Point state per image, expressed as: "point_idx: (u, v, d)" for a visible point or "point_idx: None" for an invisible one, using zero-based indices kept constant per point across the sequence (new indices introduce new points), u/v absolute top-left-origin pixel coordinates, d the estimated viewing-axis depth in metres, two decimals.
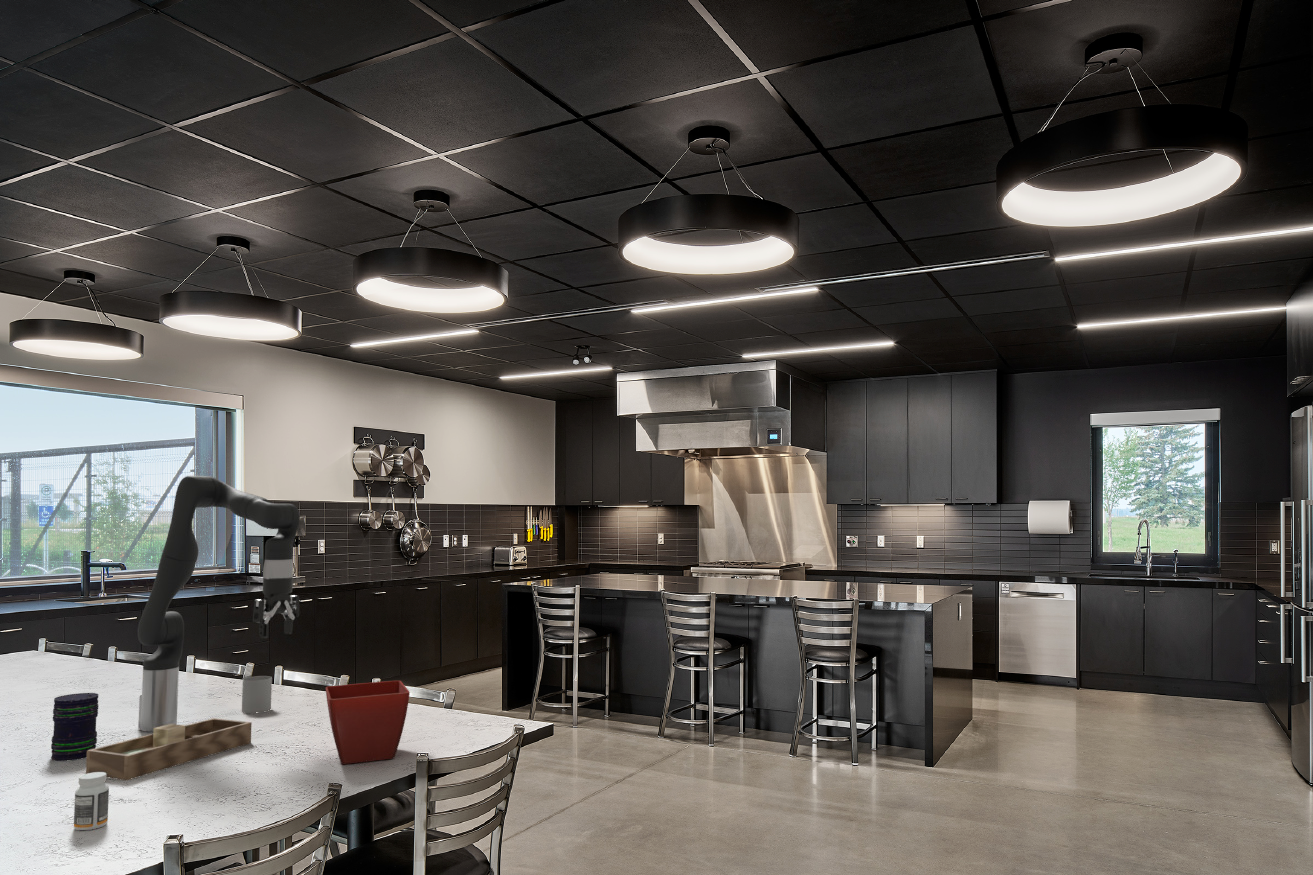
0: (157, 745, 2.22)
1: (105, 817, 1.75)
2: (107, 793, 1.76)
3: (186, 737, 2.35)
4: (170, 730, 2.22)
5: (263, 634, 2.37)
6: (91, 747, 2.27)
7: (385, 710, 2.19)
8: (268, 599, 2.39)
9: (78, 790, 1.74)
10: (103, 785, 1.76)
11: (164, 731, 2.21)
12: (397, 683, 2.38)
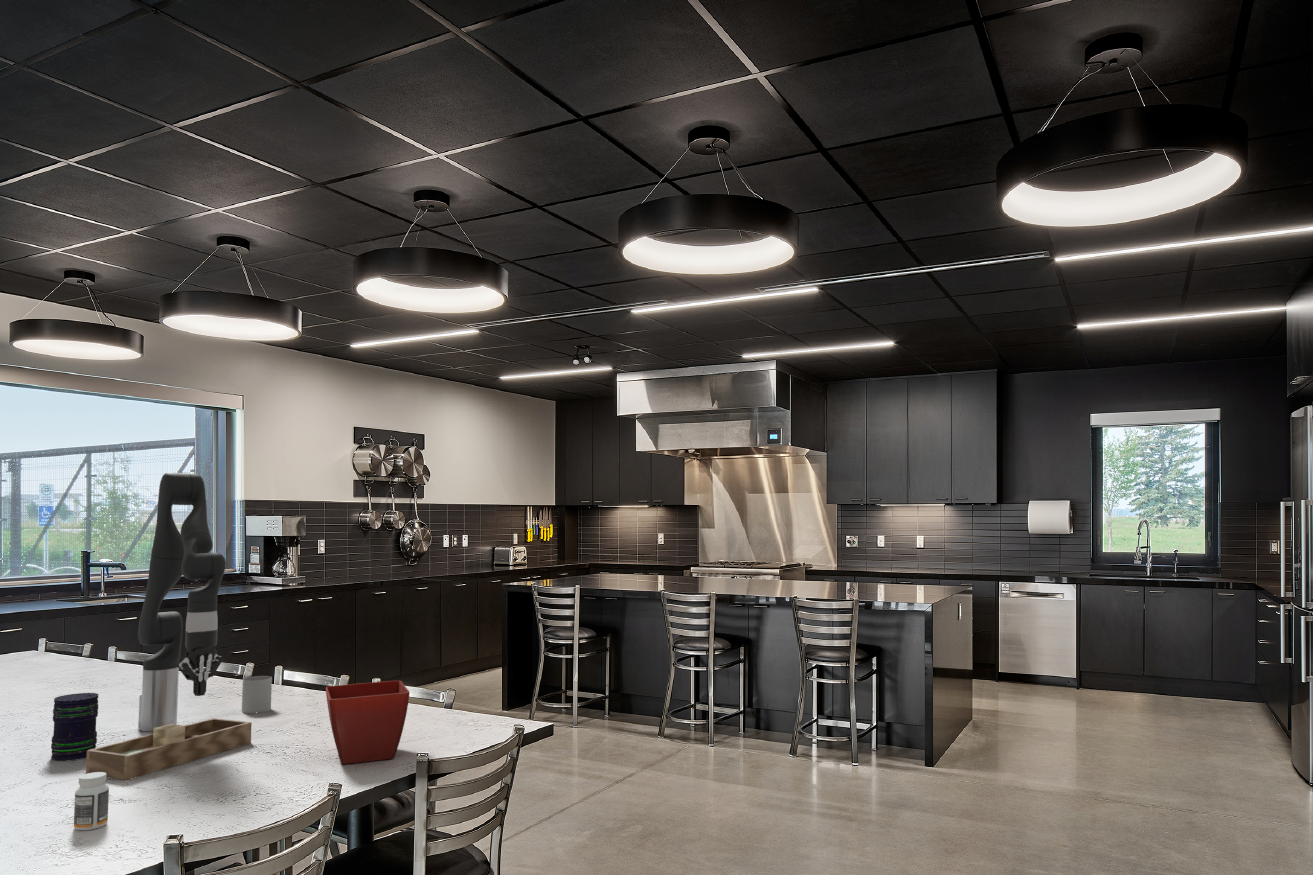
0: (157, 745, 2.22)
1: (105, 817, 1.75)
2: (107, 793, 1.76)
3: (186, 737, 2.35)
4: (170, 730, 2.22)
5: (197, 692, 2.31)
6: (91, 747, 2.27)
7: (385, 710, 2.19)
8: (189, 656, 2.29)
9: (78, 790, 1.74)
10: (103, 785, 1.76)
11: (164, 731, 2.21)
12: (397, 683, 2.38)
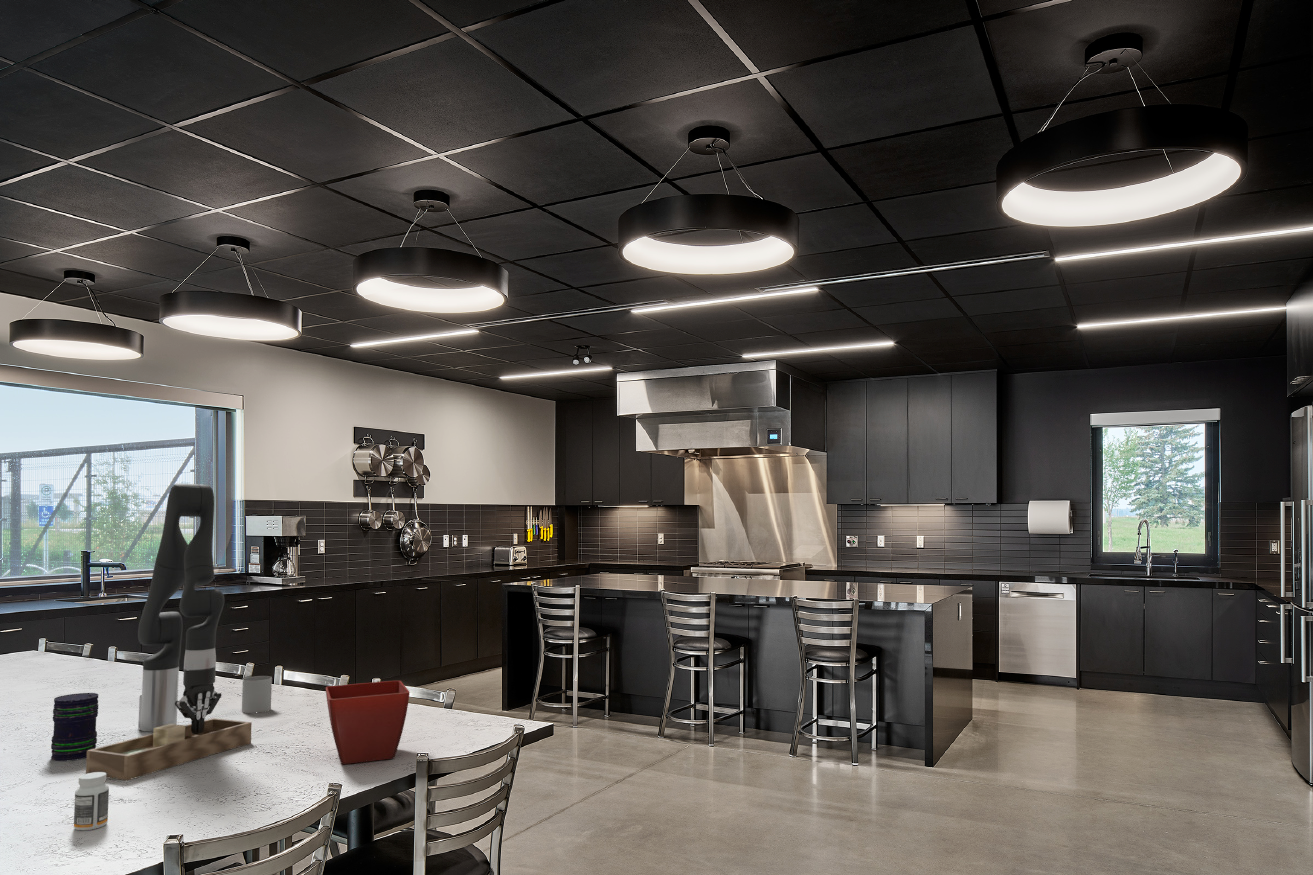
0: (157, 745, 2.22)
1: (105, 817, 1.75)
2: (107, 793, 1.76)
3: (186, 737, 2.35)
4: (170, 730, 2.22)
5: (195, 730, 2.30)
6: (91, 747, 2.27)
7: (385, 710, 2.19)
8: (187, 695, 2.28)
9: (78, 790, 1.74)
10: (103, 785, 1.76)
11: (164, 731, 2.21)
12: (397, 683, 2.38)
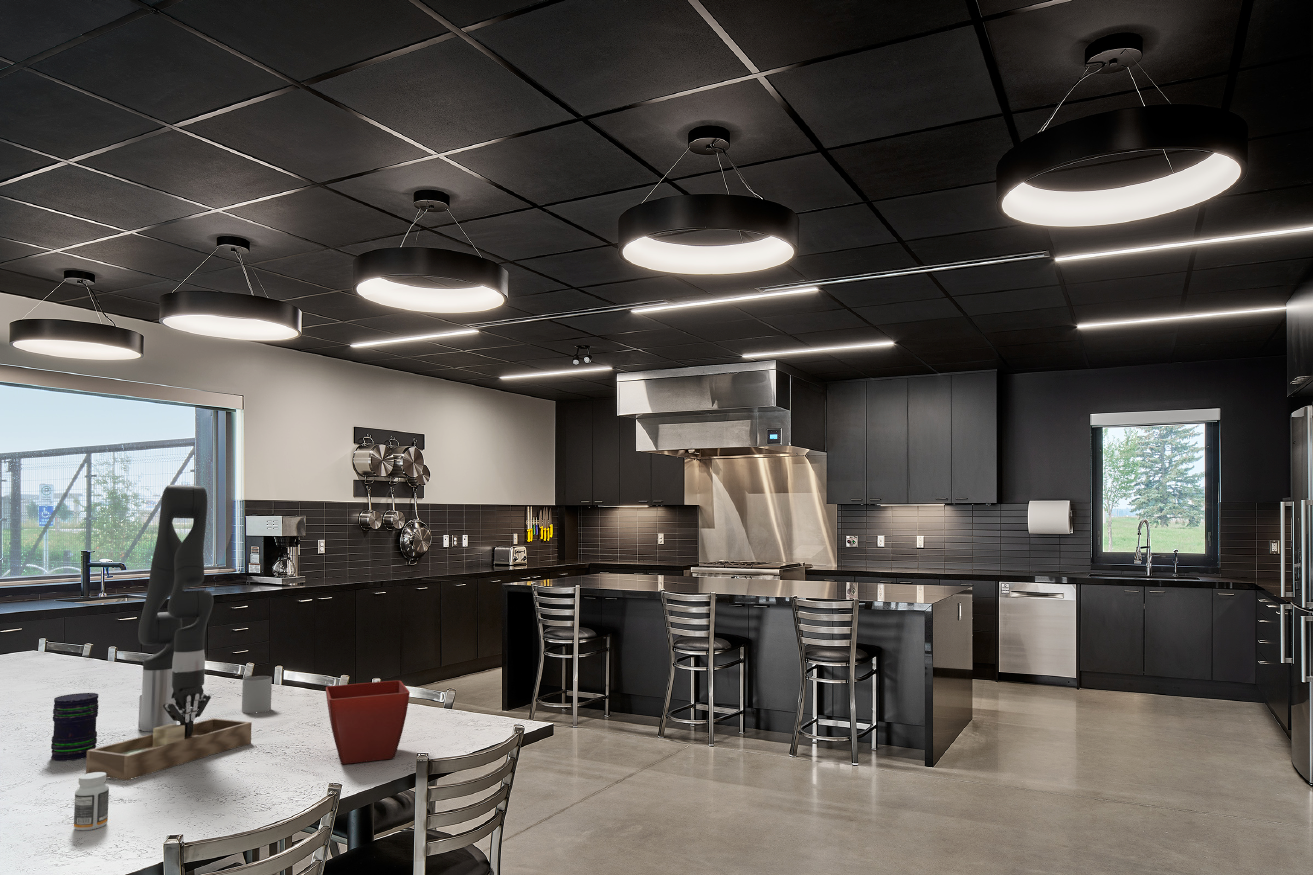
0: (157, 745, 2.22)
1: (105, 817, 1.75)
2: (107, 793, 1.76)
3: (186, 737, 2.35)
4: (170, 730, 2.21)
5: None
6: (91, 747, 2.27)
7: (385, 710, 2.19)
8: (176, 697, 2.25)
9: (78, 790, 1.74)
10: (103, 785, 1.76)
11: (164, 731, 2.21)
12: (397, 683, 2.38)
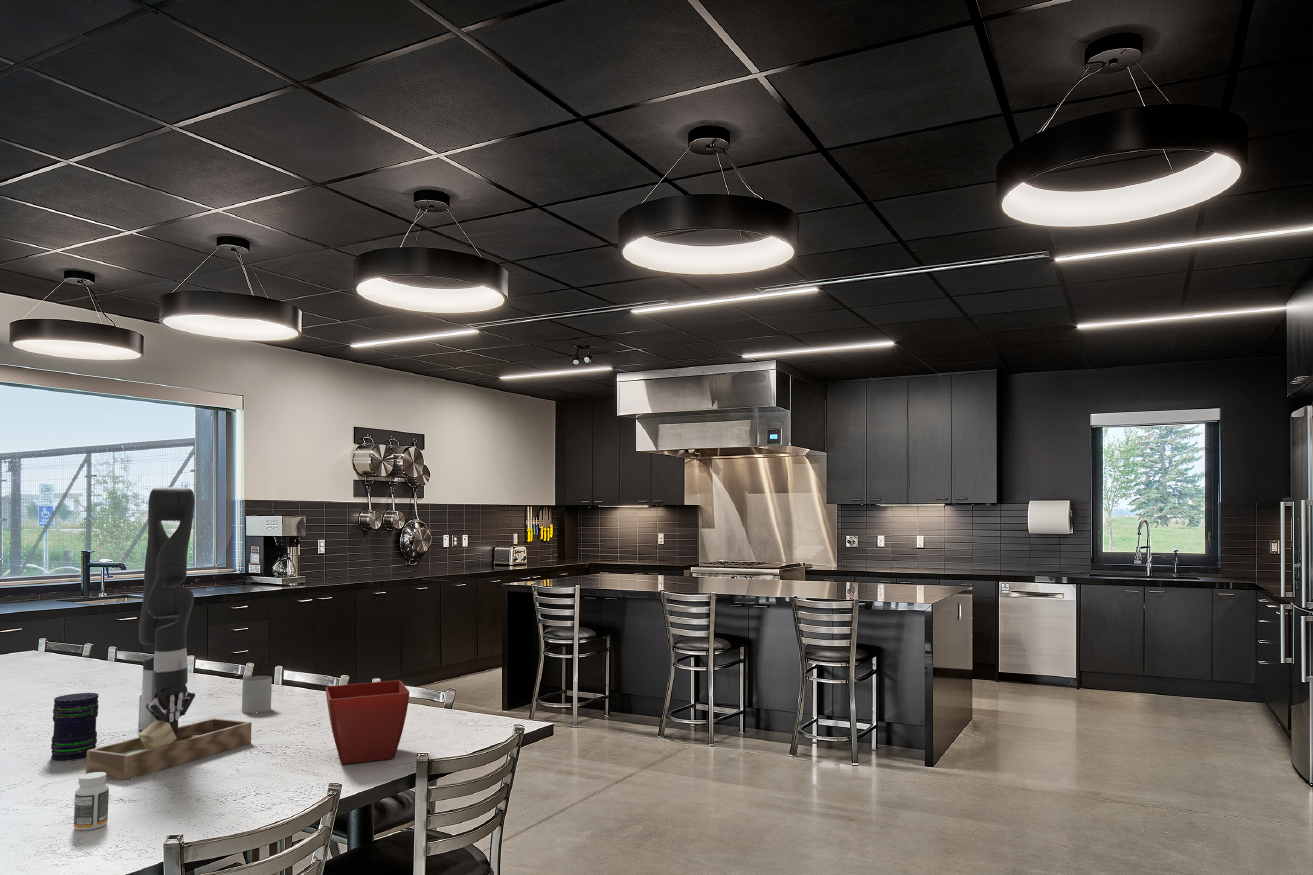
0: (149, 748, 2.20)
1: (105, 817, 1.75)
2: (107, 793, 1.76)
3: (186, 737, 2.35)
4: (156, 735, 2.18)
5: None
6: (91, 747, 2.27)
7: (385, 710, 2.19)
8: (159, 697, 2.20)
9: (78, 790, 1.74)
10: (103, 785, 1.76)
11: (150, 737, 2.18)
12: (397, 683, 2.38)
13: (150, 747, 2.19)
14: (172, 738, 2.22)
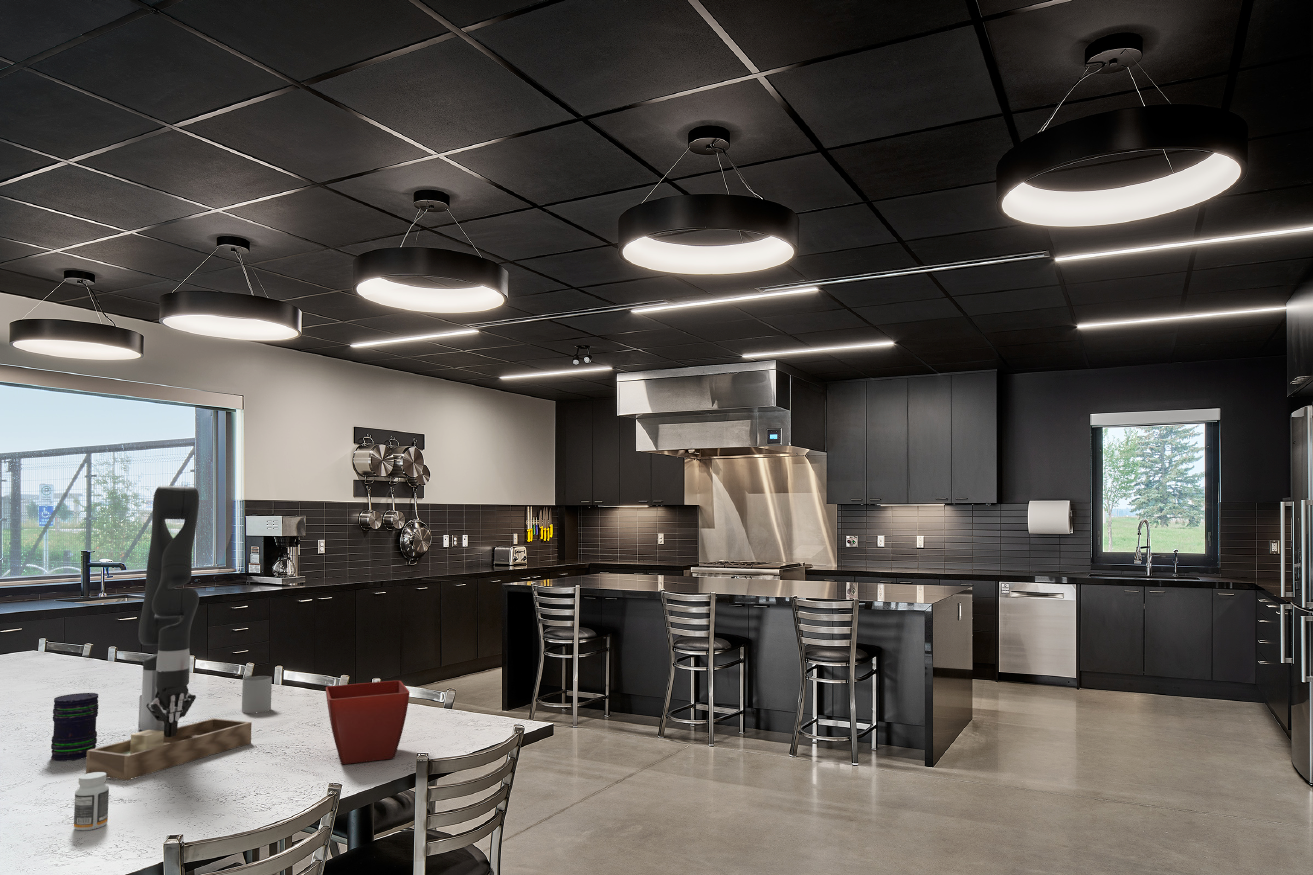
0: (135, 752, 2.16)
1: (105, 817, 1.75)
2: (107, 793, 1.76)
3: (186, 737, 2.35)
4: (149, 736, 2.16)
5: (168, 733, 2.23)
6: (91, 747, 2.27)
7: (385, 710, 2.19)
8: (159, 697, 2.21)
9: (78, 790, 1.74)
10: (103, 785, 1.76)
11: (142, 737, 2.15)
12: (397, 683, 2.38)
13: (136, 751, 2.16)
14: None
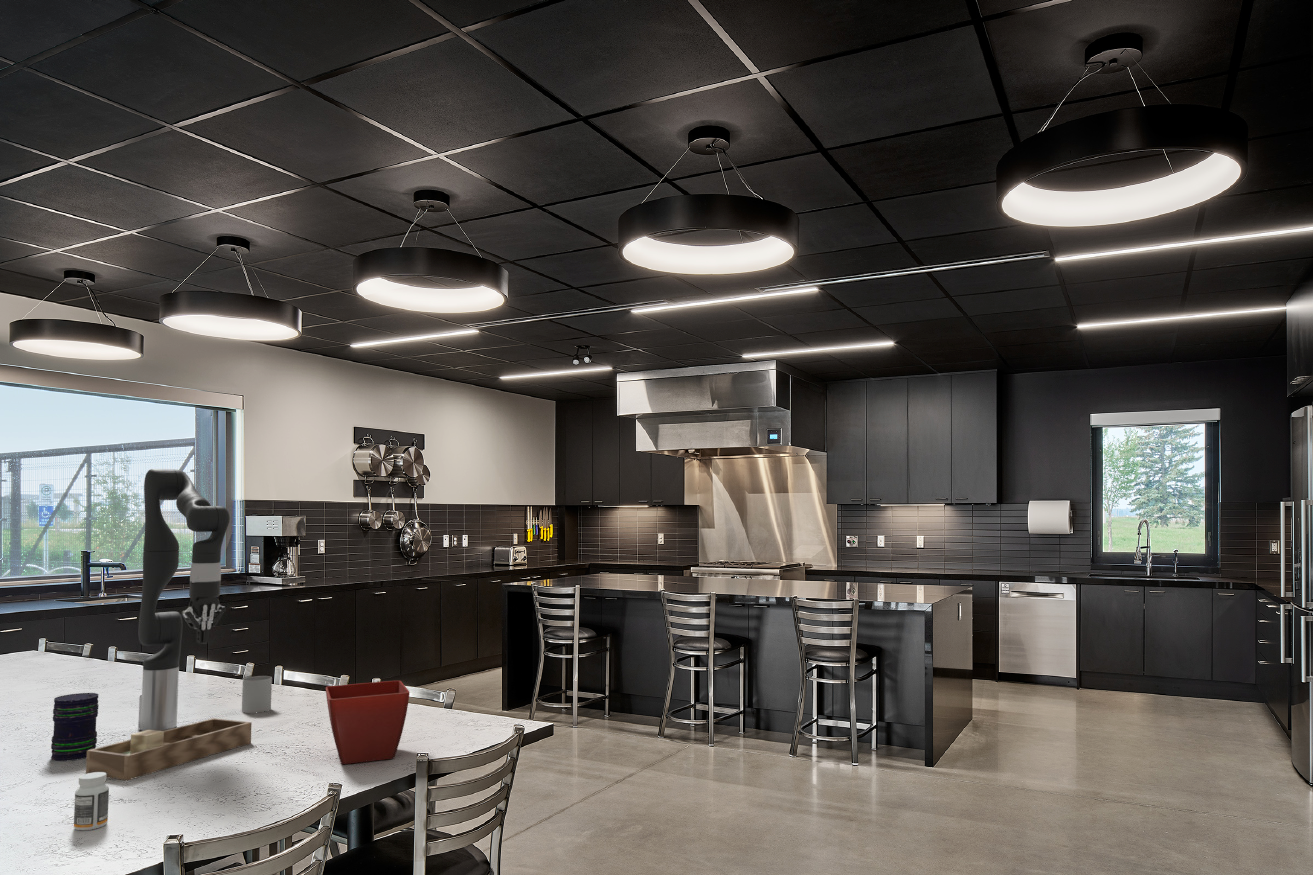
0: (135, 752, 2.16)
1: (105, 817, 1.75)
2: (107, 793, 1.76)
3: (186, 737, 2.35)
4: (149, 736, 2.16)
5: (200, 640, 2.39)
6: (91, 747, 2.27)
7: (385, 710, 2.19)
8: (193, 605, 2.37)
9: (78, 790, 1.74)
10: (103, 785, 1.76)
11: (142, 737, 2.15)
12: (397, 683, 2.38)
13: (136, 751, 2.16)
14: None
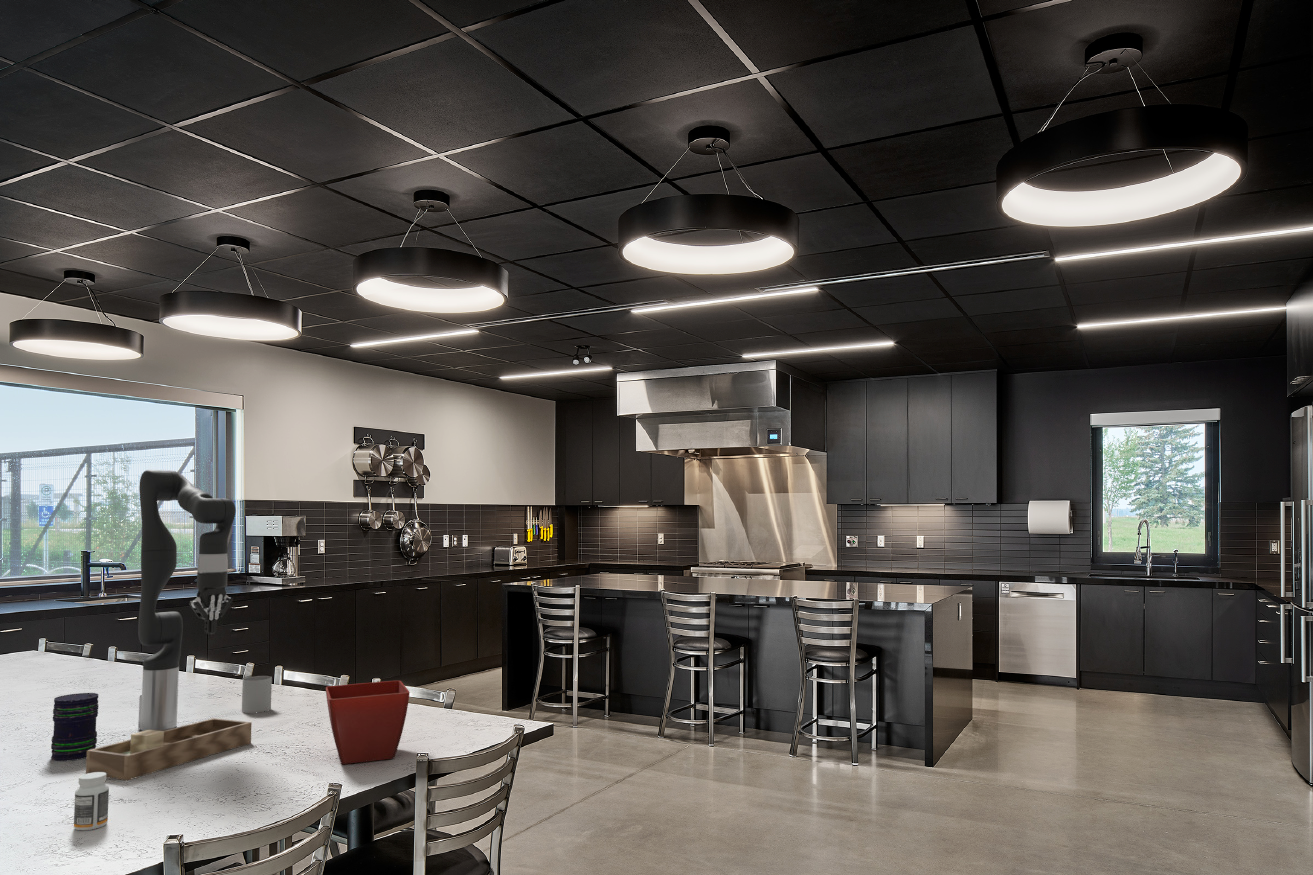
0: (135, 752, 2.16)
1: (105, 817, 1.75)
2: (107, 793, 1.76)
3: (186, 737, 2.35)
4: (149, 736, 2.16)
5: (208, 630, 2.42)
6: (91, 747, 2.27)
7: (385, 710, 2.19)
8: (201, 596, 2.40)
9: (78, 790, 1.74)
10: (103, 785, 1.76)
11: (142, 737, 2.15)
12: (397, 683, 2.38)
13: (136, 751, 2.16)
14: None
